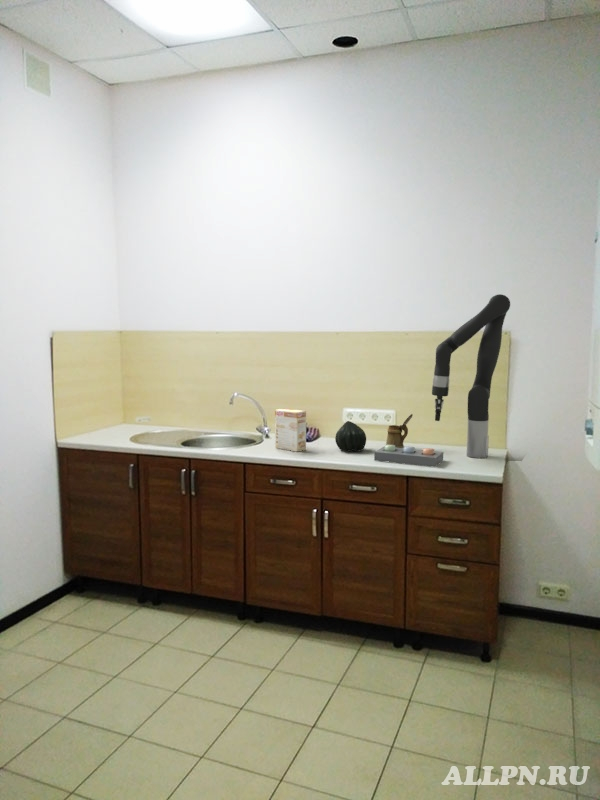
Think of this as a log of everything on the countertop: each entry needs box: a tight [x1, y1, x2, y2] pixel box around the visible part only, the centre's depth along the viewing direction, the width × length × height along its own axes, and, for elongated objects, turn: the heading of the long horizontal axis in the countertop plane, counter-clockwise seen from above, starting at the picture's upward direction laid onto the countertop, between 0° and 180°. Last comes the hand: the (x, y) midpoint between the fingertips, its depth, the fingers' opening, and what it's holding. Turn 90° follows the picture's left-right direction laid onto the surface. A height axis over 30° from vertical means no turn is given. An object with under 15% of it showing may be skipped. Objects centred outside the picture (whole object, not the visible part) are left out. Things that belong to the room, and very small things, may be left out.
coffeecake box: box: [274, 408, 307, 452], centre depth 304 cm, size 15×7×20 cm, turn 48°
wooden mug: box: [385, 413, 413, 448], centre depth 304 cm, size 9×14×18 cm, turn 62°
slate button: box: [404, 446, 415, 454], centre depth 279 cm, size 5×5×3 cm
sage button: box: [384, 444, 395, 452], centre depth 283 cm, size 5×5×3 cm
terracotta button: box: [422, 447, 435, 456], centre depth 275 cm, size 5×5×3 cm
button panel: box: [373, 445, 444, 467], centre depth 279 cm, size 28×14×4 cm, turn 63°
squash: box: [335, 420, 367, 452], centre depth 301 cm, size 14×15×15 cm
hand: (437, 419), depth 290 cm, fingers open, 8 cm apart
